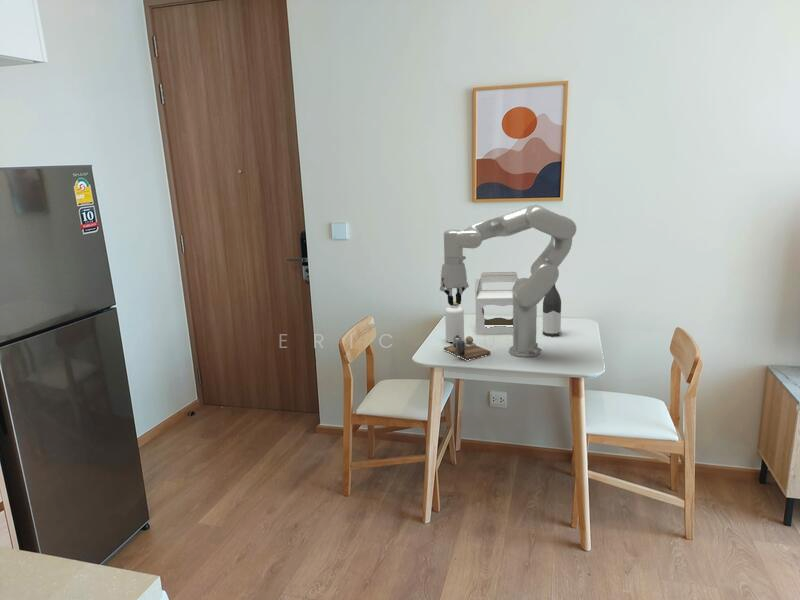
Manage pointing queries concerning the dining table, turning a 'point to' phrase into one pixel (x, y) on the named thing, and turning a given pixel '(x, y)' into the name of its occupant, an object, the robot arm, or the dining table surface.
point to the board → (469, 349)
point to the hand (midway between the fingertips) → (454, 303)
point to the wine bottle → (552, 313)
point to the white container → (454, 322)
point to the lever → (459, 345)
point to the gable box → (493, 302)
